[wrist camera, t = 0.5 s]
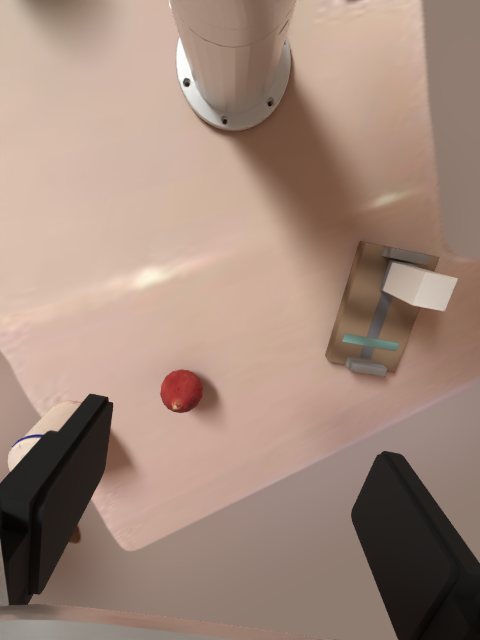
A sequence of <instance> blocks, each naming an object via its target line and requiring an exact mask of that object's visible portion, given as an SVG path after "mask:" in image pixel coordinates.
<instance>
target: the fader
mask: <svg viewBox="0 0 480 640" xmlns="http://www.w3.org/2000/svg"><path fill="white" fill-rule="evenodd" d="M457 280H458V278H455V277H451V276H447V275H444V274H440V273H437V272H433V271H429V270H426V269H422V268H418V267H417V265H413V264H409V263H404V262H399V261H394V260H390V261H389V264H388V267H387V270H386V272H385V275H384V278H383V281H382V284H381V287H380V290H381V291H383V292H385V293H389V294H391V295H393V296H395V297H397V298H399V299H401V300H403V301H405V302H407V303H409V304H411V305H414V306H419V307H424V308H429V309H435V310H440V311H445V309H446V307H447V304H448V302H449V299H450V297H451V295H452V292H453V290H454V287H455V285H456V283H457Z"/></svg>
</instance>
